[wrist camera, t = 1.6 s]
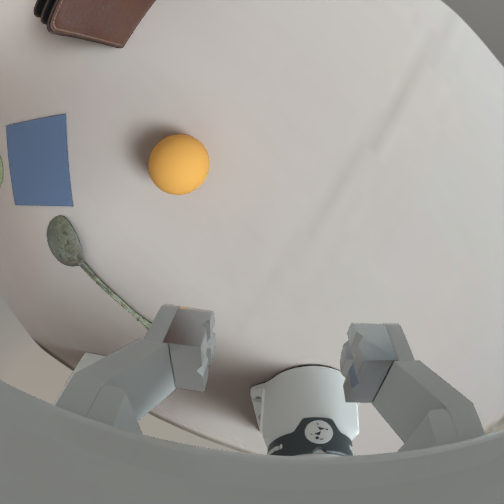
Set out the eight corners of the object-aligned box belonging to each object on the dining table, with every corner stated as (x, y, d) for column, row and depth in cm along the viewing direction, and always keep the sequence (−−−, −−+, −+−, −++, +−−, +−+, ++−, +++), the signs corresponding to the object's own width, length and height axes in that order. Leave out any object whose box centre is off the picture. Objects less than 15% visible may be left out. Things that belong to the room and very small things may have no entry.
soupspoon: (64, 202, 37) (47, 229, 39) (48, 210, 34) (33, 238, 36) (169, 317, 42) (144, 334, 45) (160, 333, 39) (135, 348, 42)
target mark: (73, 205, 35) (72, 206, 35) (16, 204, 36) (15, 205, 36) (65, 113, 30) (64, 114, 30) (7, 125, 31) (6, 126, 30)
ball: (214, 187, 33) (200, 204, 28) (161, 184, 33) (140, 201, 28) (215, 131, 30) (201, 138, 25) (160, 131, 31) (137, 138, 25)
